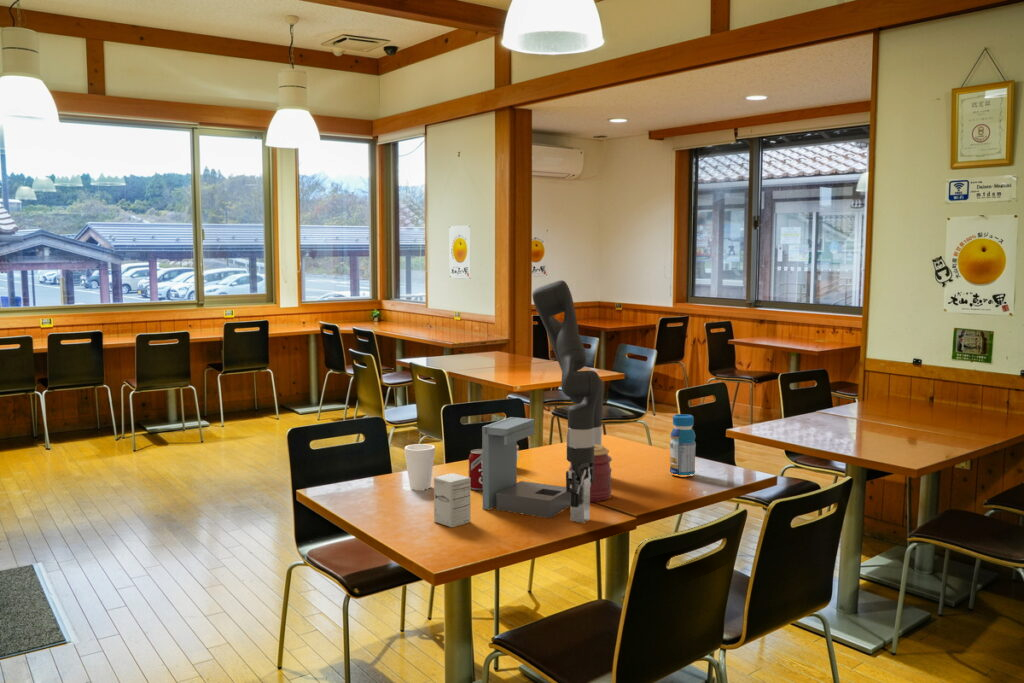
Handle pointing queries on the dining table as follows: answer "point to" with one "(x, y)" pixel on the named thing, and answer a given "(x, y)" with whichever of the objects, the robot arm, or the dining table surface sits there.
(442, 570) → the dining table surface
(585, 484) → the peg
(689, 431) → the beverage bottle
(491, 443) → the coffee dispenser stand
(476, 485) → the soda can
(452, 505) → the supplement box
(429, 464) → the foam cup
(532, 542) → the dining table surface
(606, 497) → the canister
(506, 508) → the socket
